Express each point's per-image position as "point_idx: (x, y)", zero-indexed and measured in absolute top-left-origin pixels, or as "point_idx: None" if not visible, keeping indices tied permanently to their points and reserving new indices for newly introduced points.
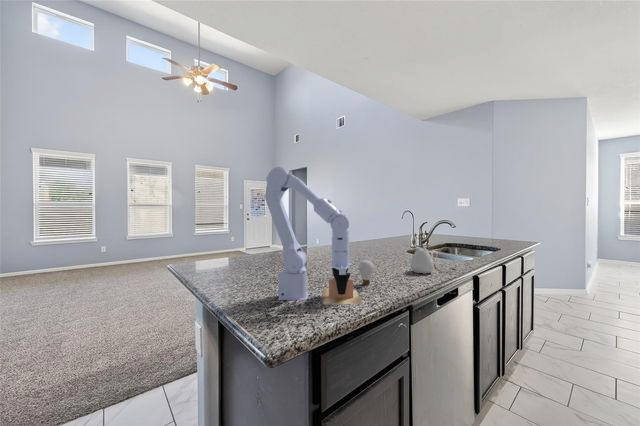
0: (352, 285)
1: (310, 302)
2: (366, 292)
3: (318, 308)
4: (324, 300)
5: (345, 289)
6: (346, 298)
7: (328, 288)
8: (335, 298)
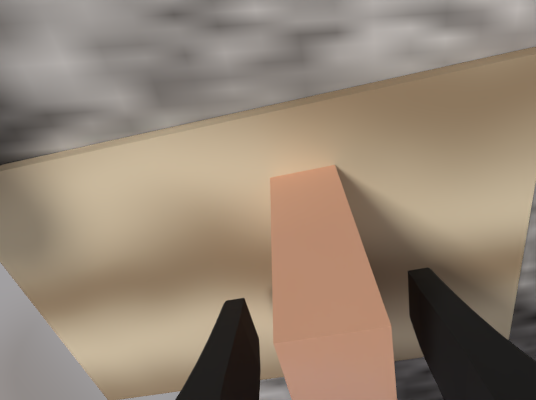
0: (367, 260)
1: (411, 396)
2: (8, 22)
3: (532, 348)
4: (418, 351)
5: (465, 303)
6: (360, 222)
7: (107, 370)
8: None
